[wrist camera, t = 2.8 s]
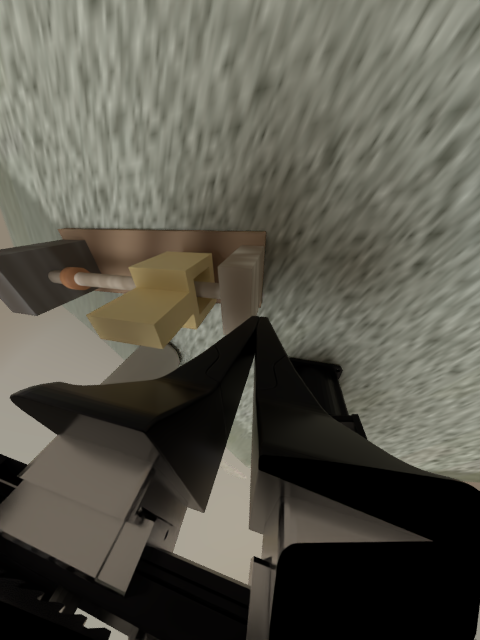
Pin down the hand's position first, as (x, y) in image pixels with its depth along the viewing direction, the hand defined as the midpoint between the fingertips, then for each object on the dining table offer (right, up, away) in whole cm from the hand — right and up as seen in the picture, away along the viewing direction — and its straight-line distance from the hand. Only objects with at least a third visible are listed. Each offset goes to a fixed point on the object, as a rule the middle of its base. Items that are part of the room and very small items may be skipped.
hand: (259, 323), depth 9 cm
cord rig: (-10, +6, +9) cm, 14 cm away
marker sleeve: (-5, +4, +6) cm, 9 cm away
